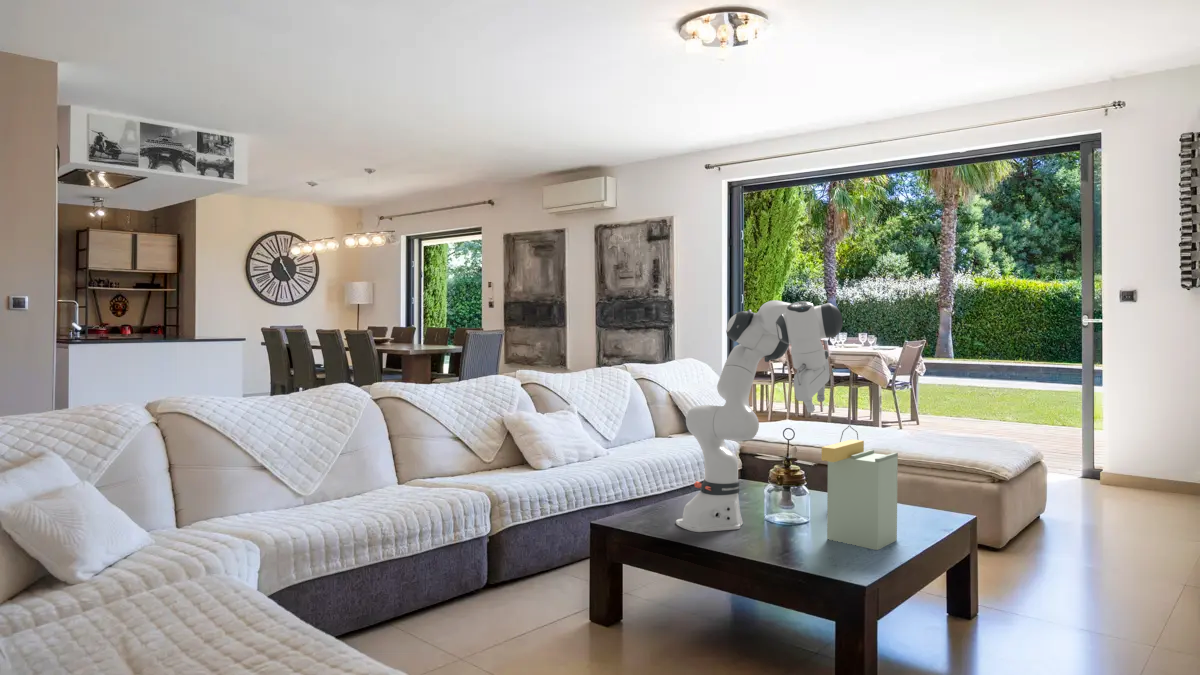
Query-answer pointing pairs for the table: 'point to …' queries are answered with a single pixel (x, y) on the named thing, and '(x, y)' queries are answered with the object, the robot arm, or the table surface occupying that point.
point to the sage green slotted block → (863, 500)
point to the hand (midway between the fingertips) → (816, 406)
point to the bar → (842, 450)
